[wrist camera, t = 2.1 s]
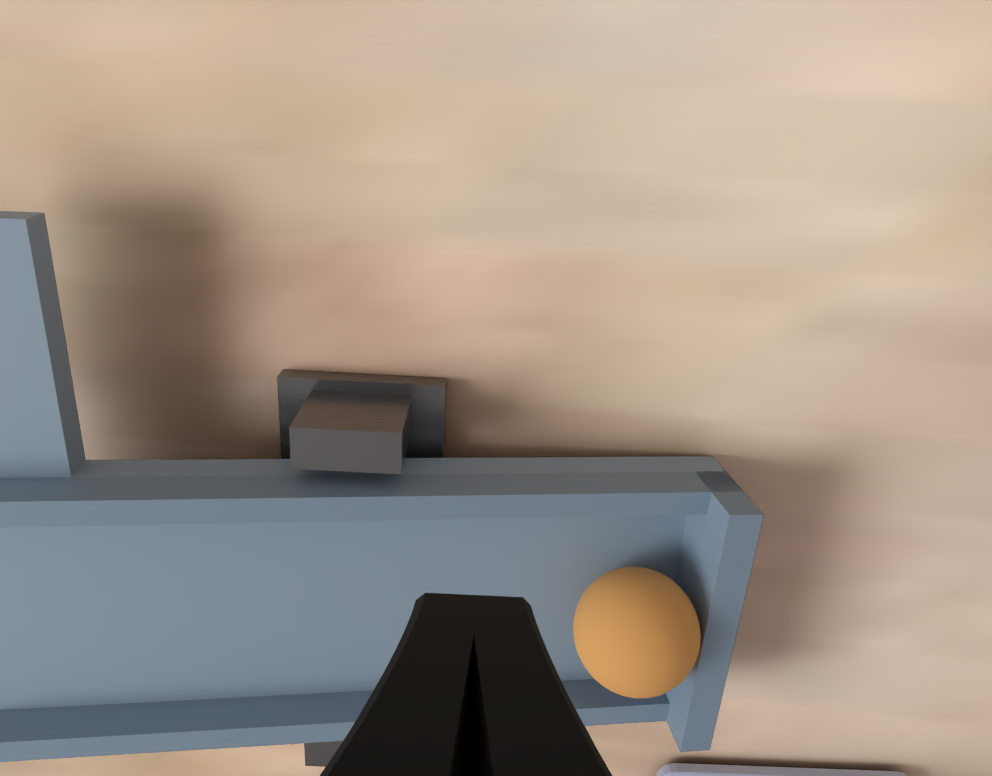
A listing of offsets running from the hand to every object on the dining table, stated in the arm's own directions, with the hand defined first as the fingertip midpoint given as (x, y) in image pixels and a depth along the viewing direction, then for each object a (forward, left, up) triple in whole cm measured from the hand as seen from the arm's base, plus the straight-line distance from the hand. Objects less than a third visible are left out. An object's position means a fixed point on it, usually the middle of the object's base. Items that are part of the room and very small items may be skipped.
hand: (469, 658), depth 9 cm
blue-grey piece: (-2, +3, -8) cm, 9 cm away
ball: (-5, -4, -7) cm, 9 cm away
